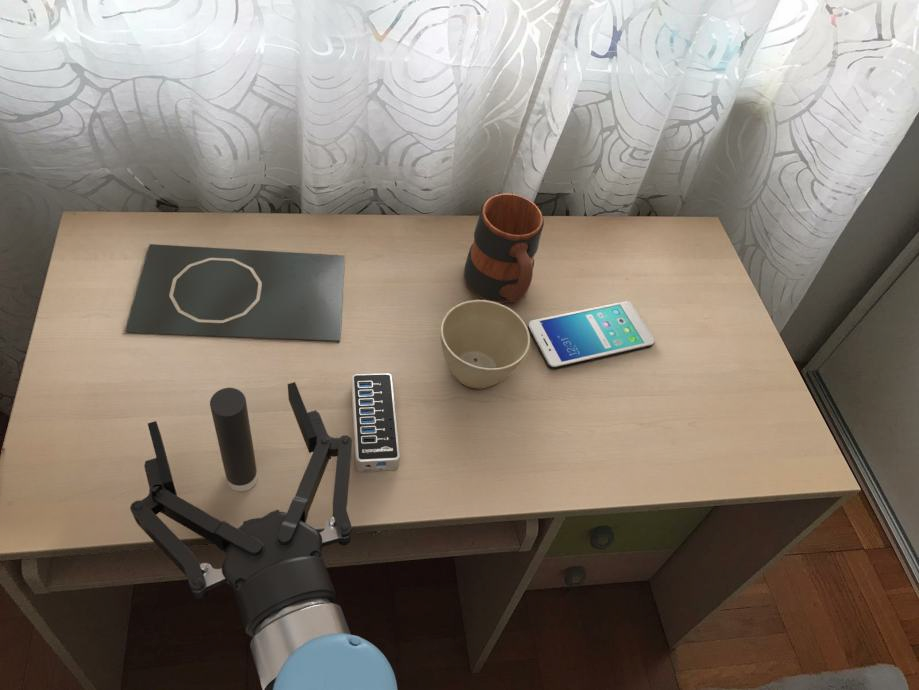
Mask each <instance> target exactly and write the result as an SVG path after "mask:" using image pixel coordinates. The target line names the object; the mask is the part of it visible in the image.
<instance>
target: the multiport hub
mask: <svg viewBox="0 0 919 690" xmlns="http://www.w3.org/2000/svg"><path fill="white" fill-rule="evenodd" d="M393 385H394V384H393V375H392V374H391V373H388V372H387V373H386V372H385V373H382V372H381V373H354V374H353V375H352V376H351V387H350V389H351V404H352V405H351V407H352V422H353V423H352V424H353V426H352V427H353V441H354V443H353V444H354V461H355V470H356V472H359V473H370V472H371V473H372V472H387V471H388V472H389V471H396V470H398V468H399V462H400V445H399V434H398V424H397V414H396V413H397V412H396V404H395V395H394V386H393Z"/></svg>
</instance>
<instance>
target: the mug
mask: <svg viewBox="0 0 919 690" xmlns="http://www.w3.org/2000/svg"><path fill="white" fill-rule="evenodd" d="M479 210H480V211H479V215H478V218H477V222H476V225H475V228H474V233H473V242H472V244H471V246H470V248H469V250H468V253H467V256H466V261H465V264H464V271H463V272H464V273H463V277H464V280H465V282H466V285H467V286H468V288H469V289H470V290H471V291H472V293H473V294H475V295H476V296H477V297H478V298H480V299H481V300H487V301H492V302H496V303H499V304H505V303H509V302H511V303H517V302H520V301H521V300H522V299H523V298H524V297H525V296H526V294H527V292H528V290H529V288H530V286H531V283H532V279H533V276H534V275H533V274H534V267H535V255H536V254H537V252H538V249H539V246H540V241H541V236H542V232H543V229H544V224H545V220H544V216H543V213H542V211H541V210H540V208H539V207H538V206H537V205H536V204H535V203H534V202H533V201H531V200H530V199H528V198H526V197H524V196H523V195H522V196H521V195H519V194H514V193H499V194H496V195H495V194H494V195H493V196H491V197H489V198H488V199H486V200H485V201H484V202H483V204H482V205H481V207H480V209H479Z"/></svg>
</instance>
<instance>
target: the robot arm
mask: <svg viewBox="0 0 919 690" xmlns="http://www.w3.org/2000/svg"><path fill="white" fill-rule="evenodd" d="M287 394H288V395H287V397H288V402H289V404H290V407H291V409H292V412H293V415H294V417H295V420H296V422H297V425H298V428H299V430H300V434H301V435H302V438H303V441H304V443H305V446H306V448H307V449H306V450H307V451H308V453H309V454H311V453H312V454H311V457H310V459H309V461H308V463H307V465H306V469H305V471H304V474H303V476H302V478H301V481H300V483H299V485H298V488H297V491H296V493H295V495H294V497H292V499H291V502H290V505H289V507H288V509H287V511H280V509H276V510H273V511H270V512H269V513H266V515H264V516H261V517H256V518H250V519H247V520H244V521H242V524H241V525H240V526H239V527H238V528H237V527H236V526H234V525H232V524H230V523H228V522H227V521H225V520H223V521H222V520H219V519H218V518H216V517H214V516H213V515H211V514H209V513H207V512H206V511H204V510H203V509H200V508H199V507H197V506H195V505H194V504H192V503H191V502H189V501H186V500H185V499H183V498H181V497H179V495H177V490H176V486H175V483H174V479H173V476H172V472H171V468H170V464H169V463H170V462H169V460H168V456H167V452H166V450H165V444H164V441H163V437H162V433H161V431H160V428H159V425H158V422H157V420H155V421H151V422H147V427H148V431H149V434H150V438H151V442H152V446H153V451H154V454H155V457H154V458H151V459H148V460H145V462H144V471H145V476H146V479H147V483H148V487H149V490H148V491H149V493H148V494H147V496H146V497H145V498H143V499H141V500H140V499H139V500H135V501H133V502H132V503H131V505H130V507H129V509H130V512H131V514H132V516H133V518H134V521H135V523H136V524H137V525H138V526H139V528H140V529H141V530H142V531H143V532H144V533H145V534H146V536H148V537H149V538H150V539H151V540H152V542H153V543H154V544H155V545H156V546H157V547H158V548H159V549H160V551H162V552H163V553H164V555H166V556H167V557H168V559H169V560H170V561H171V562H172V563H173V564H174V565H175V566H176V567H177V568H178V569H179V570H180V571H181V573H183V575H185V577H186V579H187V581H188V585H189V587H190V590H191V592H192V595H193V596H194V598H195V599H197V600H203V599H205V598H206V597H207V596H208V595H209V591H211V590H213V589H214V588H215V589H216V588H217V587H219V586H222V585H224V584H227V585H229V586H230V587H231V589H232V590H233V593H234V596H235V600H236V603H237V606H238V609H239V613H240V617H241V619H242V624H243V627H244V630H245V634H247V636H250V637H251V638H252V639H251V641H250V644H249V647H250V650H251V655H252V658H253V661H254V664H255V668H256V672H257V675H258V678H259V679H258V680H259V682H260V686H261V689H262V690H398V684H397V679H396V675H395V671H394V669H393V667H392V666H391V664H390V662H389V661H388V659H387V657H386V656H385V655H384V653H383V652H382V651H381V650H380V649H379V648H378V647H377V646H375V645H374V644H373V643H372V642H370V641H368V640H366V639H364V638H362V637H361V636H358V635H354V634H351V631H350V628H349V626H348V622H347V620H346V618H345V614H344V612H343V610H342V607H341V606H340V605H339V604H337V603H335V602H336V599H337V593H336V591H335V587H334V585H333V582H332V580H331V577H330V574H329V572H328V571H329V570H328V569H327V565H326V563H325V560H324V557H323V554H322V551H323V548H324V547H327V546H330V545H331V546H332V545H334V544H339V545H340V546H347V545H350V543H351V541H352V523H351V520H350V516H349V513H348V510H347V507H348V499H349V498H348V497H349V486H350V485H349V483H350V473H351V461H352V445H353V440H352V437H351V436H349V435H347V434H343V435H341V436H340V437H333V436H330V435H329V433H328V431H327V428H326V426H325V424H324V422H323V419H322V416H321V414H320V412H318V411H317V410H316V409H315V410H312V411H307V408H306V406H305V403H304V401H303V398H302V395H301V394H300V390H299V388H298V386H297V384H296V381H294V382H290V383H287ZM332 457H334V458H335V457H336V465H335V476H334V477H335V478H334V487H333V496H332V516H331V517H329V518H327V519H326V520H325V526H324V529H323V530H321V531H320V532H319V530H318V529H316V528H314V527H313V526H311V525H309V524H308V523H307V520H308V516H309V512H310V509H311V507H312V504H313V502H314V500H315V497H316V494H317V492H318V489H319V486H320V484H321V481H322V479H323V477H324V473H325V471H326V468H327V466H328V464H329V461H330V460H331V459H332ZM159 513H160V514H162V515H164V516H166V517H168V518H169V519H171V520H173V521H174V522H176V523H177V524H179V525H181V526H183V527H184V528H187V529H188V530H190V531H191V532H193V533H194V534H197V535H198V536H200V537H202V539H203V538H204V539H205V540H207V541H209V542H210V543H212V544H214V545H215V546H216V547H217V548H218V549H220V550H221V551H223V552H224V553H226V555H225V556H224V559H223V562H222V564H221V567H220V568H214V567H212V565H211V564H210V563H209V562H202V563H200V562H199V560H198V559H197V557H196V555H195V554H194V552H192V550H190V548H189V547H188V546H186V544H185V543H184V542H183V541H182V540H181V539H180V538H179V537H178V536H177V535H176V534H175V533H174V532H173V530H172V529H170V527H169V526H167V525H166V523H165V522H164V521H163V520H162V519H161V518H159V517H160V516H158V514H159Z"/></svg>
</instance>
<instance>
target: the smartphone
mask: <svg viewBox="0 0 919 690" xmlns="http://www.w3.org/2000/svg"><path fill="white" fill-rule="evenodd" d="M527 328H528V331H529V334H530V335H531V337H532V339H533V342H534V344H535V345H536V347H537V348H538V351H539V352H540V354H541V357H542V358H543V360H544V362H545V365H546V366H547V367H548V368H549V369H550V370H559V369H563V368H569V367H572V366H576V365H580V364H584V363H588V362H593V361H598V360H602V359H608V358H610V357H615V356H619V355H623V354H628V353H633V352H636V351H637V352H638V351H640V350H641V351H642V350H645V349H650V348H652V347H653V346H654V344H655V342H656V341H655V338H654V336H653V335H652V333H651V331H650V329H648V326H647V325H646V324H645V322H644V321H643V319H642V318H641V316H640V314H639V313H638V312H637V310H636V309H635V307H634V305H633V304H632V303H631V302H630V301H628V300H625V301H619V302H615V303H610V304H604V305H600V306H595V307H590V308H585V309H580V310H576V311H571V312H566V313H560V314H556V315H551V316H546V317H542V318H537V319H532V320H529V322H528V324H527Z"/></svg>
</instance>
